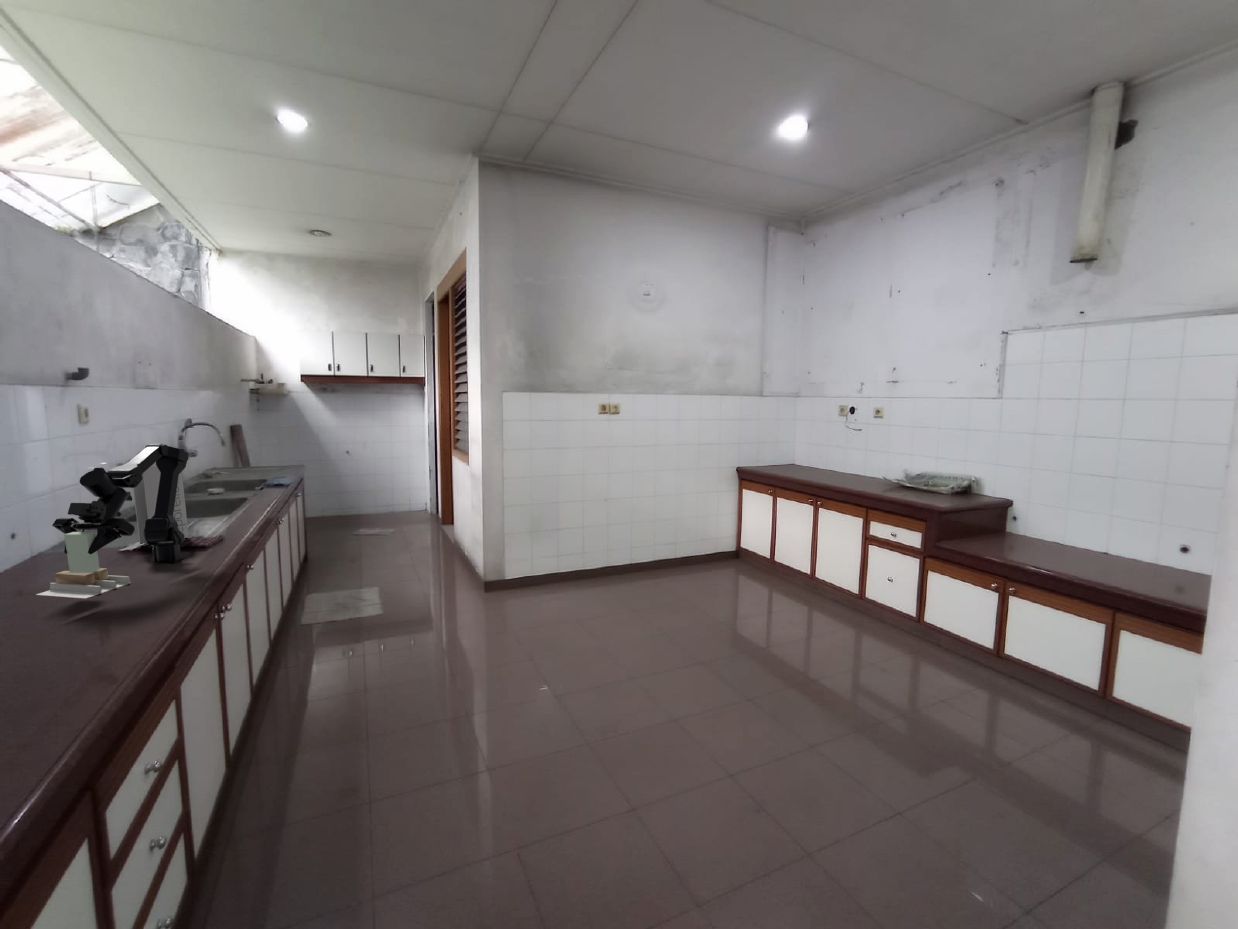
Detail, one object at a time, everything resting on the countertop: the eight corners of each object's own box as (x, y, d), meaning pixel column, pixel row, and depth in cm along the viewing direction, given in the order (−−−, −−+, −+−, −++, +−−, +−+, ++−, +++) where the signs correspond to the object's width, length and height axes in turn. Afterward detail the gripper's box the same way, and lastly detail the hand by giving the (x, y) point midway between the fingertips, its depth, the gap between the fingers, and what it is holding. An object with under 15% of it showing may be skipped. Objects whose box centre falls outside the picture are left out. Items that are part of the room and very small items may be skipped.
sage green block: (78, 569, 157) (72, 531, 155) (99, 569, 157) (94, 532, 156) (69, 572, 155) (64, 534, 153) (91, 572, 155) (86, 534, 153)
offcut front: (80, 581, 168) (78, 566, 167) (109, 583, 166) (107, 568, 165) (71, 583, 165) (69, 569, 164) (100, 586, 164) (98, 571, 163)
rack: (85, 582, 169) (83, 573, 169) (131, 585, 167) (130, 576, 166) (36, 598, 157) (34, 587, 156) (85, 601, 154) (84, 591, 154)
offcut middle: (66, 585, 164) (64, 570, 163) (95, 587, 162) (93, 572, 162) (57, 588, 161) (55, 573, 161) (86, 590, 160) (84, 575, 159)
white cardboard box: (151, 548, 204) (142, 467, 200) (139, 547, 205) (130, 467, 201) (188, 538, 218) (181, 462, 214) (177, 537, 219) (169, 462, 215)
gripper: (53, 490, 156) (18, 539, 147) (121, 490, 157) (90, 539, 147) (83, 511, 165) (52, 558, 156) (147, 511, 166) (119, 558, 156)
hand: (77, 553), depth 154 cm, fingers closed on sage green block, 6 cm apart
